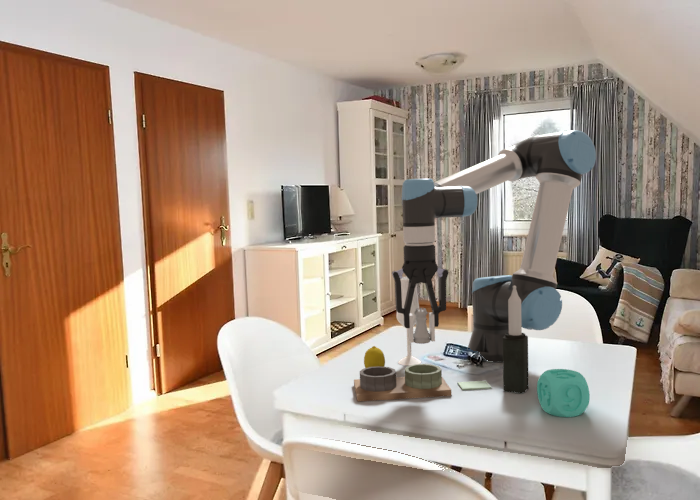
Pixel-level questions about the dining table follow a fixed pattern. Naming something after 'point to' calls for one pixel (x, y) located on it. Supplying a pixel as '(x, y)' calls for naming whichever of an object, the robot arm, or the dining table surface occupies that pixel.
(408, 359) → the champagne flute
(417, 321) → the rook chess piece
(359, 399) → the double bowl stand
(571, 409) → the decorative dice
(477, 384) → the card
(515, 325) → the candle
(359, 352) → the dining table surface
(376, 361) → the lemon
